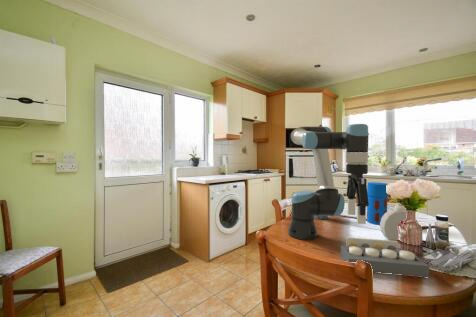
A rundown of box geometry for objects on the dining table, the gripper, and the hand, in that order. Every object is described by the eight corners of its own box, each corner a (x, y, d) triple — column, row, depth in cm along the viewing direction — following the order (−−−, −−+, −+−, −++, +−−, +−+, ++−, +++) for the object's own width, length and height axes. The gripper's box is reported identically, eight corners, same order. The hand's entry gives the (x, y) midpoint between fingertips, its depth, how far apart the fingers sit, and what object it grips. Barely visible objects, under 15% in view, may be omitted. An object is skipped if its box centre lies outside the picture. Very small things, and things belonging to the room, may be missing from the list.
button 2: (367, 259, 84) (367, 252, 84) (363, 254, 88) (363, 247, 88) (381, 261, 83) (381, 253, 83) (376, 255, 87) (376, 248, 87)
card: (346, 253, 95) (346, 238, 95) (345, 252, 96) (346, 237, 96) (398, 258, 91) (398, 241, 91) (396, 257, 92) (397, 240, 92)
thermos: (391, 224, 135) (391, 184, 135) (379, 226, 131) (379, 185, 131) (374, 219, 146) (375, 181, 145) (362, 220, 142) (363, 182, 141)
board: (348, 270, 82) (349, 258, 82) (340, 255, 94) (340, 245, 94) (428, 278, 77) (429, 266, 76) (409, 261, 88) (409, 251, 88)
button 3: (385, 261, 83) (385, 253, 83) (379, 255, 87) (380, 248, 87) (398, 262, 82) (399, 254, 82) (392, 257, 86) (392, 249, 86)
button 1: (350, 258, 85) (351, 250, 85) (347, 253, 90) (347, 245, 89) (363, 259, 84) (363, 251, 84) (359, 254, 89) (359, 246, 89)
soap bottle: (413, 238, 113) (413, 199, 113) (419, 242, 108) (420, 202, 108) (379, 235, 116) (379, 198, 116) (383, 239, 111) (384, 200, 110)
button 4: (403, 263, 81) (403, 255, 81) (396, 257, 86) (396, 249, 86) (417, 264, 80) (417, 256, 80) (410, 258, 85) (410, 250, 85)
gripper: (380, 165, 74) (379, 229, 74) (357, 162, 97) (356, 211, 97) (356, 165, 75) (355, 227, 76) (339, 162, 98) (338, 210, 99)
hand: (356, 218), depth 87 cm, fingers open, 11 cm apart
